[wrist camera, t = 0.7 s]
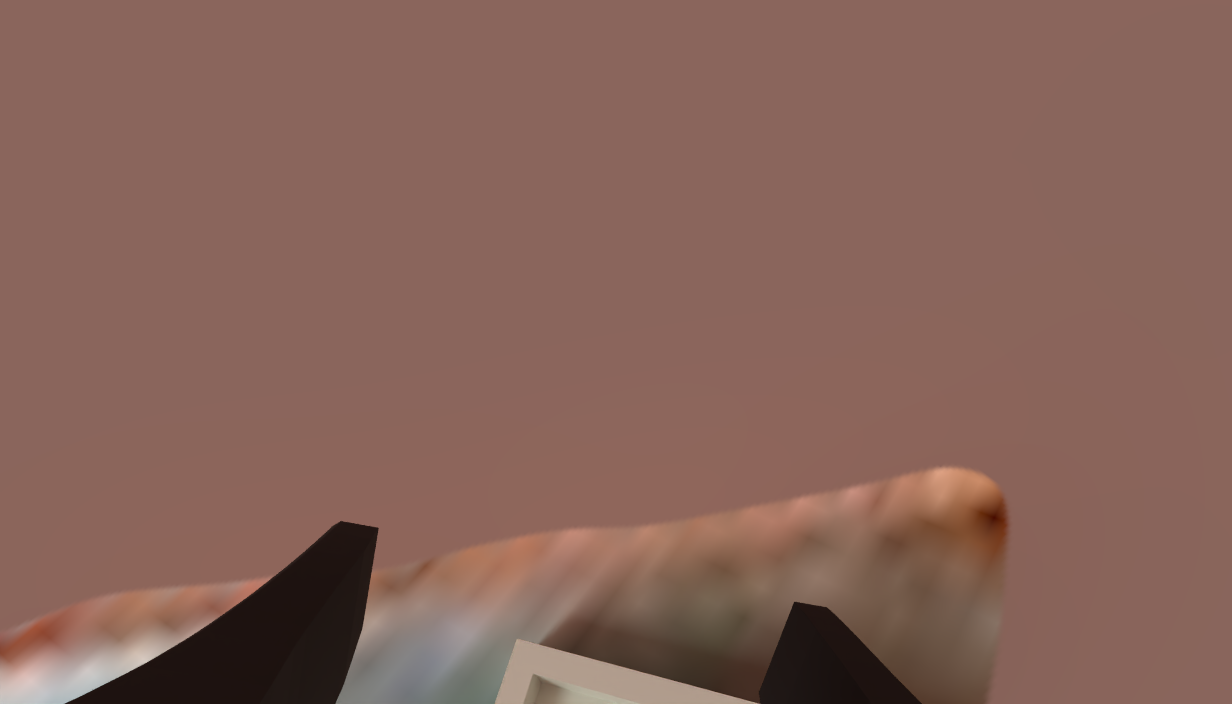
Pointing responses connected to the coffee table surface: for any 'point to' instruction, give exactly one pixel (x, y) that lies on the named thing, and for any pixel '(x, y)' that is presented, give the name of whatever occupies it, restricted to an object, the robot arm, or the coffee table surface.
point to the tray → (590, 682)
